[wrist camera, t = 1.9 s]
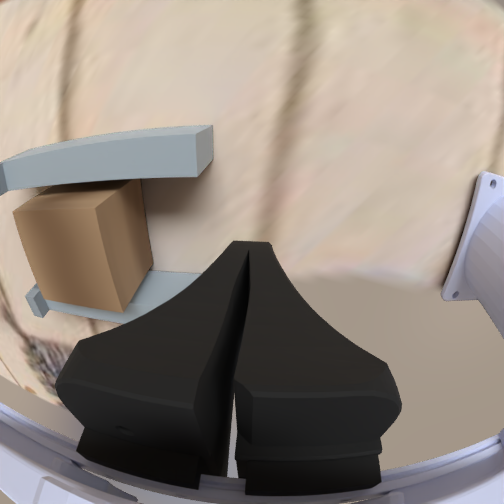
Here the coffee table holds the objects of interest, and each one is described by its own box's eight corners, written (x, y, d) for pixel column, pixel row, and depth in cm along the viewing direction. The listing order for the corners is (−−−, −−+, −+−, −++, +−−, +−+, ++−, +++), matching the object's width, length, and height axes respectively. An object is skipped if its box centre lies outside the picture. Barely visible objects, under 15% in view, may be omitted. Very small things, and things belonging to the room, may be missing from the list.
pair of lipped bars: (212, 125, 11) (188, 137, 8) (219, 297, 16) (208, 346, 13) (28, 150, 12) (-16, 170, 9) (62, 281, 16) (34, 315, 13)
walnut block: (139, 174, 12) (94, 208, 9) (153, 262, 15) (123, 313, 11) (61, 181, 13) (12, 211, 9) (80, 257, 15) (43, 299, 12)
